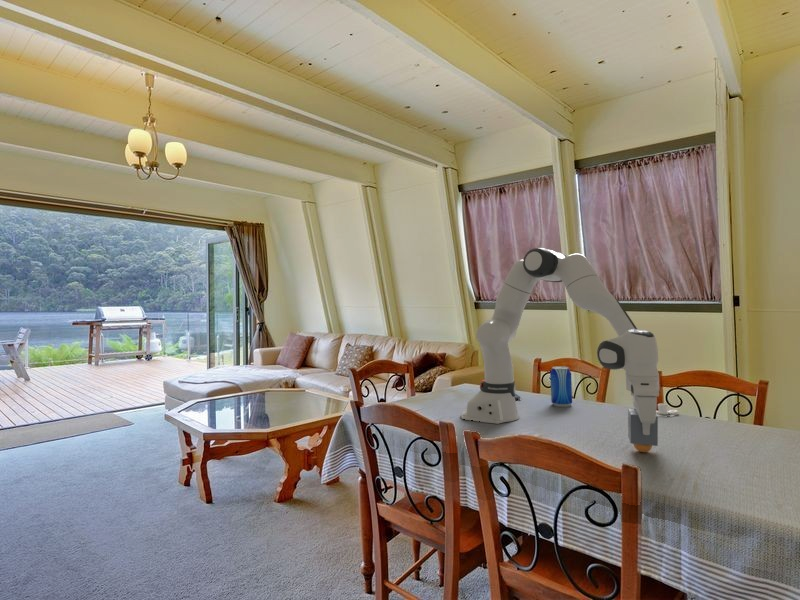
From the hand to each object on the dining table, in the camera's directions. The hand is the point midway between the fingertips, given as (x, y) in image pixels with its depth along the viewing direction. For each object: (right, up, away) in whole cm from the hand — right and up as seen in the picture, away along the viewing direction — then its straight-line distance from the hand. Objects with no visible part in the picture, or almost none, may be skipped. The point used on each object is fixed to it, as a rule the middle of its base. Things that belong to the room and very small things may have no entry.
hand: (644, 429), depth 137 cm
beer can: (-4, -6, +58) cm, 58 cm away
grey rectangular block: (0, -3, 0) cm, 3 cm away
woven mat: (-24, -7, +74) cm, 78 cm away
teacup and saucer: (+28, -5, +35) cm, 45 cm away
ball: (0, -4, 0) cm, 4 cm away
